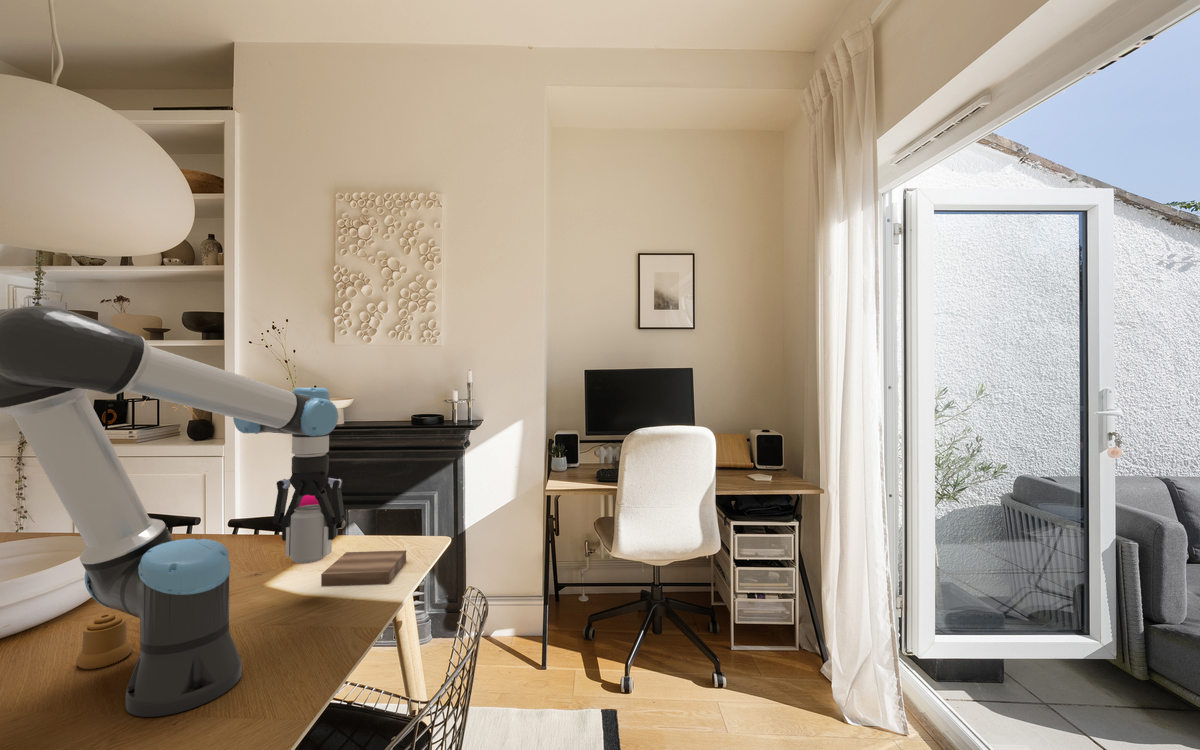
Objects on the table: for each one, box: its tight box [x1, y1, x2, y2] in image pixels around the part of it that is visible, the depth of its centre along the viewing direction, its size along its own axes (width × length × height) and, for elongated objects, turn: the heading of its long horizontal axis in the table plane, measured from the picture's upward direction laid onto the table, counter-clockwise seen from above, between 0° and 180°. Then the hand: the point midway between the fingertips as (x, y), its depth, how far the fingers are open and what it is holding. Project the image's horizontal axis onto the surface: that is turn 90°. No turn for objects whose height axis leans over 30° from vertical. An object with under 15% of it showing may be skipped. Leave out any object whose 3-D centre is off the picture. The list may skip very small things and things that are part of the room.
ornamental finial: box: [75, 613, 133, 670], centre depth 97 cm, size 8×8×8 cm
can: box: [289, 505, 327, 565], centre depth 122 cm, size 8×8×12 cm
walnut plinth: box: [320, 549, 407, 587], centre depth 139 cm, size 16×16×3 cm
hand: (308, 554), depth 122 cm, fingers closed on can, 7 cm apart
